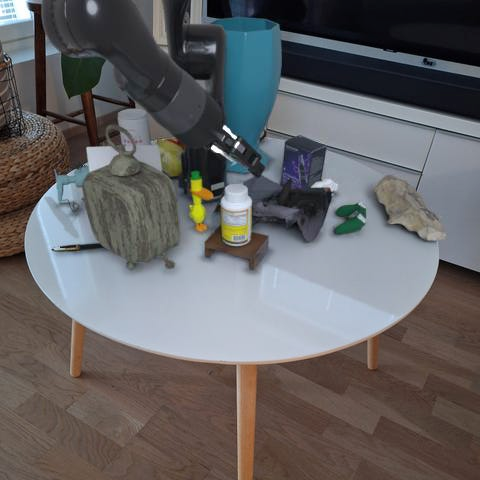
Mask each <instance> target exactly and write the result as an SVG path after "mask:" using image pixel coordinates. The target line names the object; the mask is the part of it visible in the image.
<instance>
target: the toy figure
mask: <svg viewBox="0 0 480 480" xmlns="http://www.w3.org/2000/svg"><path fill="white" fill-rule="evenodd" d="M191 175H192V177H191V178H190V179H191V189H190V192H191V193H192V197H193V199H192V202H193V205H191V204H188V207H189V209H190V211H189V213H188V215H189V218H190V219H191V220H193V221H194V222H195V225H196V226H194V229H195V230H196V231H198V232H204V230H208V227H207V225H206V224H204V223H203V222H204V220H205V218H206V217H207V210H206V208H205V206H203V204H202V203H203V202H202V199H205V200H207V201H208V200H210V199H212V198H213V194H212V192H210V191H209V190H207V189H206V188H203V187H202V179H201V176H199V171H193V172H191Z"/></svg>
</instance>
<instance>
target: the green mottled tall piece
mask: <svg viewBox="0 0 480 480" xmlns="http://www.w3.org/2000/svg"><path fill="white" fill-rule="evenodd" d="M111 130H115V131H118V132H119V133H120V132H122V133H124V134H125V135H126V136H127V137H128V138H129V140H130V141H131V143H132V145H133V150H132V151H126V150H125V146H124V145H123V144H122V143H120V144H118V145H116V144H115V143H114V142H113V141H112V140H111V137H110V135H109V134H110V133H109V132H110V131H111ZM104 133H105V134H104V135H105V139H106V142H107V141H108V142H107V144H108V143H109V144H110V146H111V147H112V148H113V149H114V150H116V151H117V152H119V154H118V155H116V156H114V157H113V159H112V160H111V162H110V164H109V165H107V166H104V167H102V168H99V169H97V170H94V171H92V172H89V173H88V174H87V175H86V177H85V179H84V181H83V182H82V187H81V189H82V195H83V197H84V201H85V202H84V201H83V202H84V205H85V208H86V209H85V210H86V214H87V217H88V221H89V225H90V228H91V231H92V234H93V236H94V238H95V241H97V243H100V244H101V245H102V246H104V247H105V248H104V249H107V250H108V251H109V252H111V253H113V254H114V255H116V256H118V257H120V258H121V259H123V260H125V261H127V262H126V264H125V266H126V268H127V269H128V270H134V269H136V264H148V263H150V262H152V261H154V260H155V259H157V258H160V259H162V261H164V262H165V268H167V269H170V270H171V269H173V268H174V267H175V261H174V260H172V259H168V258H167V257H166V256H165V253H168V252H169V251H170V250H172V249H174V248H176V247H177V246H179V243H180V241H181V216H180V208H179V201H178V195H177V192H176V188H175V185H174V182H173V180H171V179H170V178H169V177H170V176H169V175H168V174H167V173H164V172H163V171H162V172H161V171H160V170H158V169H156V168H154V167H152V166H150V165H148V164H146V163H144V162H141V161H138V160H137V159H136V158H135V157H134V156H133V154H134V153H135V152H136V144H135V141H134V139H133V137H132V136H131V134H130V133H129V132H128V131H127V130H126V129H124V128H122V127H120V126H119V124H111V123H110V124H109V125H107V126H106V128H105V131H104ZM109 137H110V138H109ZM117 146H118V147H117Z"/></svg>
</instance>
